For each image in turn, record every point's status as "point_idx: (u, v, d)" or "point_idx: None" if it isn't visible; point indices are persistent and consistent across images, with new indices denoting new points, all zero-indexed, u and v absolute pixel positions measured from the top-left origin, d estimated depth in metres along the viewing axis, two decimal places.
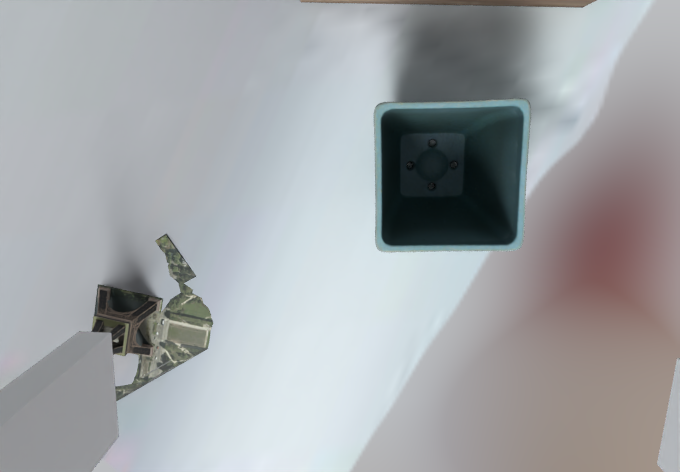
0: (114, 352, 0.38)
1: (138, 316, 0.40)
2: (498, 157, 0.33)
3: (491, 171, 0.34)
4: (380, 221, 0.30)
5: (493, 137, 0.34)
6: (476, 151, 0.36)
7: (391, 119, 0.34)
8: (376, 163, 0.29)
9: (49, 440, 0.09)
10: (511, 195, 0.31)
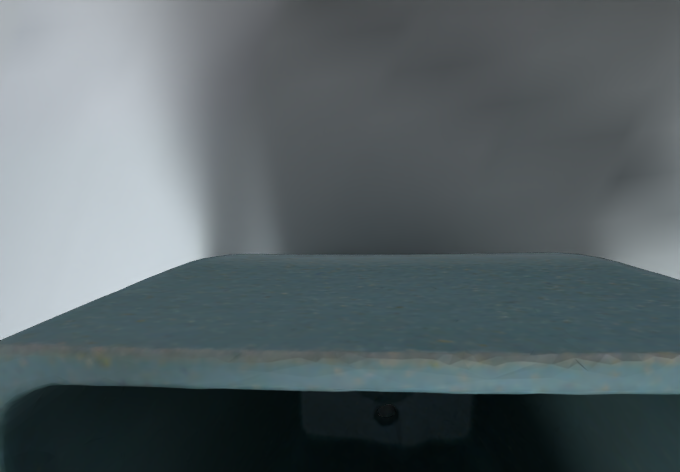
0: None
1: None
2: (605, 432, 0.09)
3: (571, 446, 0.10)
4: None
5: None
6: None
7: None
8: None
9: None
10: None
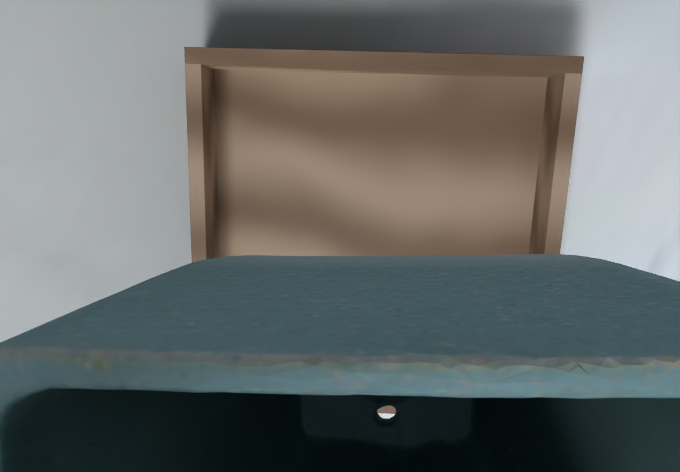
0: None
1: None
2: (606, 434, 0.09)
3: (571, 447, 0.10)
4: None
5: None
6: None
7: None
8: None
9: None
10: None
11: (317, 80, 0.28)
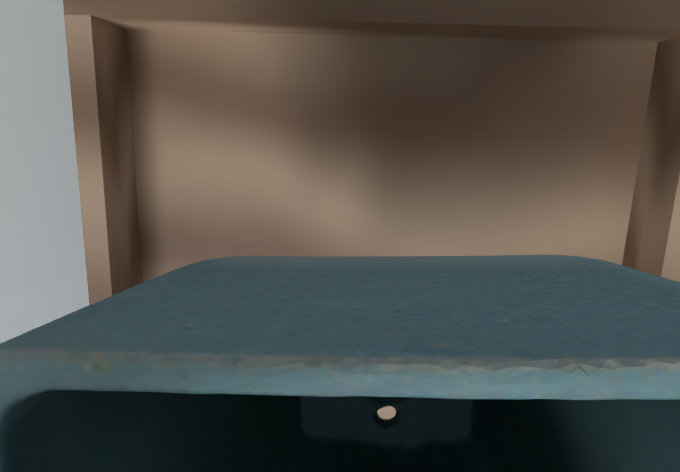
0: None
1: None
2: (606, 435, 0.09)
3: (572, 449, 0.10)
4: None
5: None
6: None
7: None
8: None
9: None
10: None
11: (289, 46, 0.17)
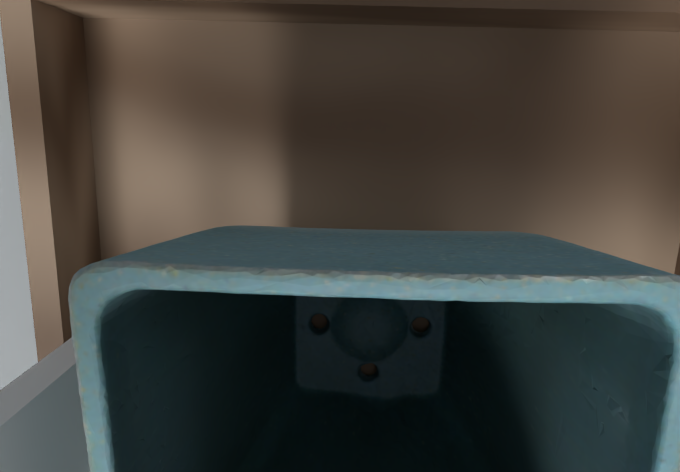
0: None
1: None
2: (536, 371, 0.11)
3: (514, 389, 0.13)
4: None
5: (523, 305, 0.12)
6: (474, 312, 0.14)
7: None
8: None
9: (50, 440, 0.10)
10: None
11: (276, 38, 0.15)
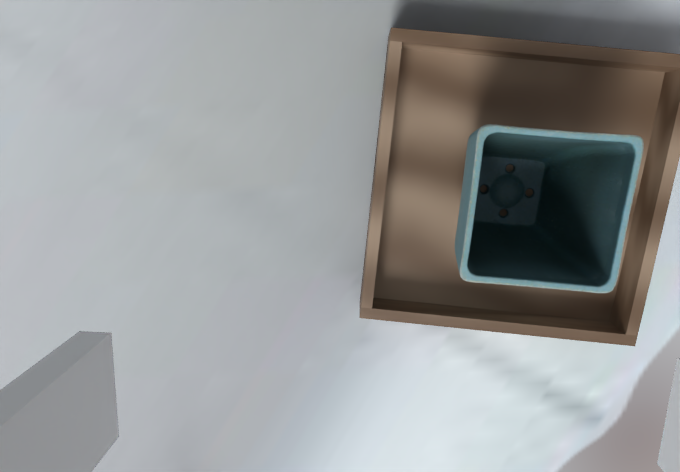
0: None
1: None
2: (588, 191, 0.31)
3: (576, 204, 0.33)
4: (468, 249, 0.28)
5: (583, 170, 0.32)
6: (557, 182, 0.34)
7: None
8: (472, 187, 0.28)
9: (49, 440, 0.09)
10: (606, 235, 0.29)
11: (481, 62, 0.35)
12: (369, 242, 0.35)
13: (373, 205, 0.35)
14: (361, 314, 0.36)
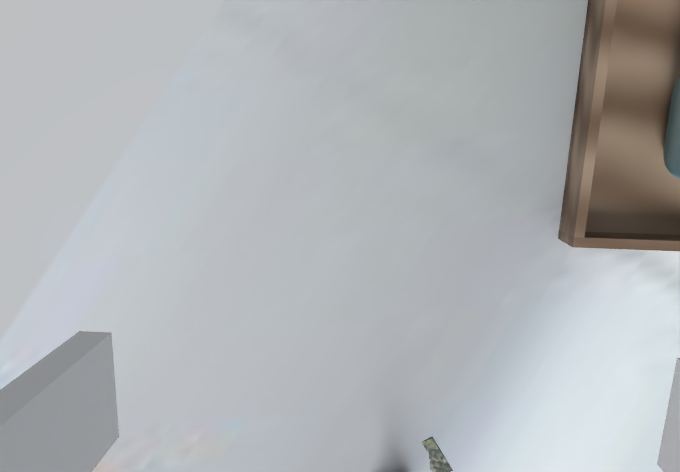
0: None
1: None
2: None
3: None
4: None
5: None
6: None
7: None
8: None
9: (49, 440, 0.09)
10: None
11: (678, 5, 0.38)
12: (583, 176, 0.39)
13: (588, 141, 0.38)
14: (574, 243, 0.40)
